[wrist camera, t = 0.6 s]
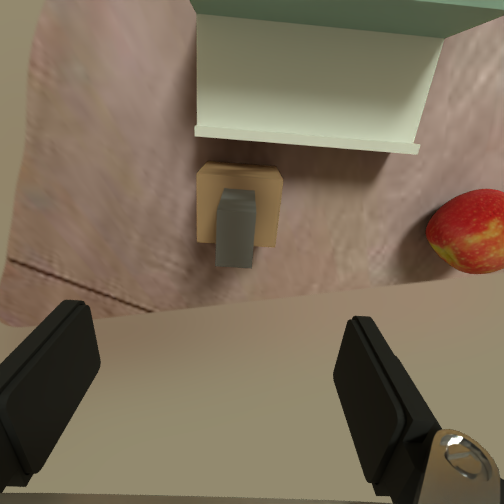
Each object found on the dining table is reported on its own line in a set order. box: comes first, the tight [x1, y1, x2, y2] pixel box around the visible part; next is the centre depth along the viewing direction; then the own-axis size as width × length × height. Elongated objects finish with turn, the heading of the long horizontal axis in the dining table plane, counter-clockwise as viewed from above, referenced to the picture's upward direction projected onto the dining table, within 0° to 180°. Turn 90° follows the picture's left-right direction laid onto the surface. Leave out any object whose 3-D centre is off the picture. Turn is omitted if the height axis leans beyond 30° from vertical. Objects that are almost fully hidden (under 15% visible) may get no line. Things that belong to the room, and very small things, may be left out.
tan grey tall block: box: [196, 161, 283, 268], centre depth 25 cm, size 7×6×13 cm
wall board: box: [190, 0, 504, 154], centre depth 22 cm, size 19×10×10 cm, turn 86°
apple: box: [426, 189, 504, 274], centre depth 29 cm, size 8×8×8 cm
